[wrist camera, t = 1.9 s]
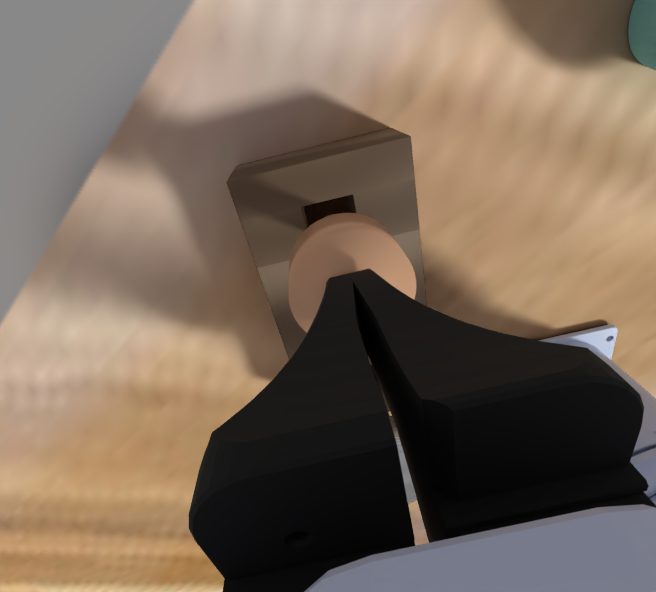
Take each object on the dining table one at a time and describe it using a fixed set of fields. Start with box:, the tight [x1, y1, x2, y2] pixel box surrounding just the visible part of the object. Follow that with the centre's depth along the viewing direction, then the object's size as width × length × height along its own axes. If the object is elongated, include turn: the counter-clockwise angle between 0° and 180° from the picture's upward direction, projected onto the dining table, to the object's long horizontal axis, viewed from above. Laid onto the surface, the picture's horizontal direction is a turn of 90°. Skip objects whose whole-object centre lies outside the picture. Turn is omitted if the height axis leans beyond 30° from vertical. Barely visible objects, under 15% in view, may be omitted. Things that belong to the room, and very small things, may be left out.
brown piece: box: [227, 128, 427, 412], centre depth 21 cm, size 16×8×4 cm, turn 12°
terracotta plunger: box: [289, 213, 416, 333], centre depth 14 cm, size 4×4×6 cm
